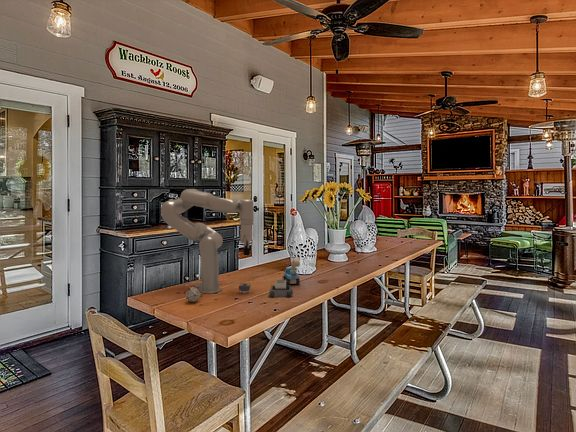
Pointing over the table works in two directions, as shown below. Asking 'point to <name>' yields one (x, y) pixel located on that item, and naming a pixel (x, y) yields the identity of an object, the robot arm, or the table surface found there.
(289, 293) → the chassis
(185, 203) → the robot arm
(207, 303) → the table surface
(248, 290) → the axle mount
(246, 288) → the wheel
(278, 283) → the engine block
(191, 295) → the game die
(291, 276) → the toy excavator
